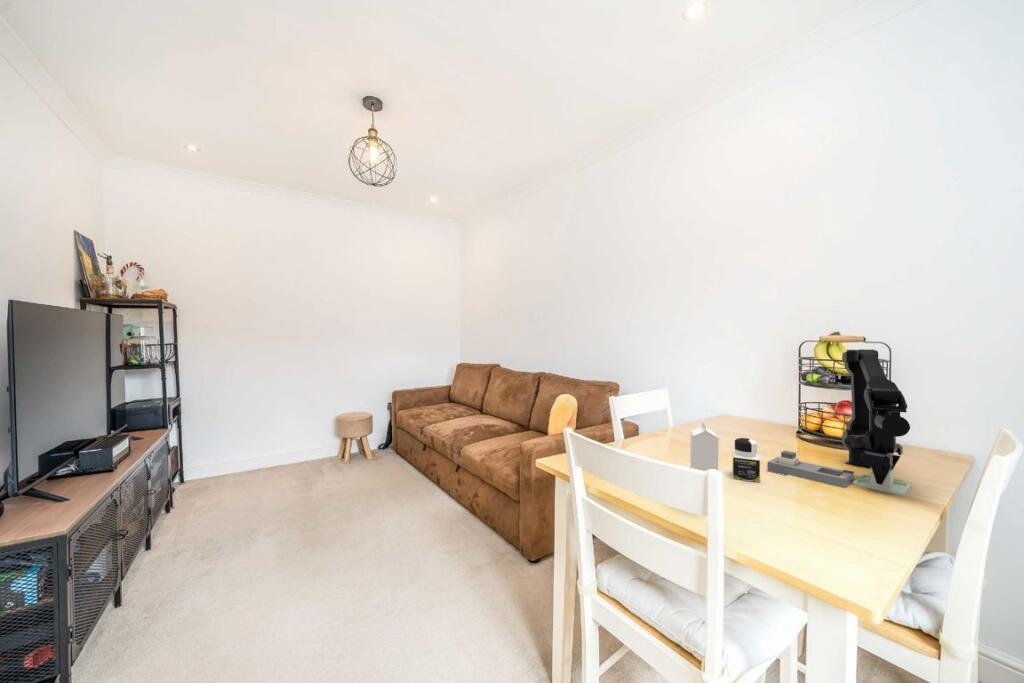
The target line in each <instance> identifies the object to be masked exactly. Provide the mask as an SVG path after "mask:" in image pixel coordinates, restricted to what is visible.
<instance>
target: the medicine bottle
mask: <svg viewBox="0 0 1024 683" xmlns="http://www.w3.org/2000/svg"><path fill="white" fill-rule="evenodd" d="M731 452H732V458H731V459H732V466H731V468H732V469H731V470H732V472H731V473H732V478H733V479H734V478H737V479H736V480H739V479H742V480H741V481H746V480H749V481H748V482H753V481H755V483H760V481H761V460H760V456H759V454H758V443H757V441H756V440H753V439H751V438H747V437H740V438H739V437H738V438H736V439H734V450H732V451H731Z"/></svg>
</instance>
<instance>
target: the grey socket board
mask: <svg viewBox="0 0 1024 683" xmlns="http://www.w3.org/2000/svg"><path fill="white" fill-rule="evenodd" d="M779 457H780V456H777V457H774V458H773V459H770V460H769V461H767V472H770V471H772V472H771V473H774V472H776V473H775V474H778V473H780V474H779V475H782V474H784V475H783V476H786V475H787V476H792V477H797V478H801V479H805V480H810V481H814V482H818V483H820V484H821V483H822V484H825V485H830V486H834V487H839V488H843V489H846V488H847V487H848V486H849V485H851V484H853V481H854V480H855V479H854V478H855V477H854V475H855V471H853V470H847V469H838V468H834V467H833V468H832V467H829V466H823V465H819V464H815V463H810V462H804V461H801V460H798V466H796V467H795V466H790V465H786V464H781V463H779Z"/></svg>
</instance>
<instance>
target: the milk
mask: <svg viewBox="0 0 1024 683" xmlns="http://www.w3.org/2000/svg"><path fill="white" fill-rule="evenodd" d="M719 448H720V447H719V436H718V435H717V434H716V432H715V431H713V430H711V429H709V428H708V427H707V424H706V423H705V421H704V420H703V419H702V420H701V425H699V426H698V427H696V428H694V429H692V430H690V469H691V468H694V469H698V470H703V471H705V470H708V469H716V470H718V471H719V450H720V449H719Z"/></svg>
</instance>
